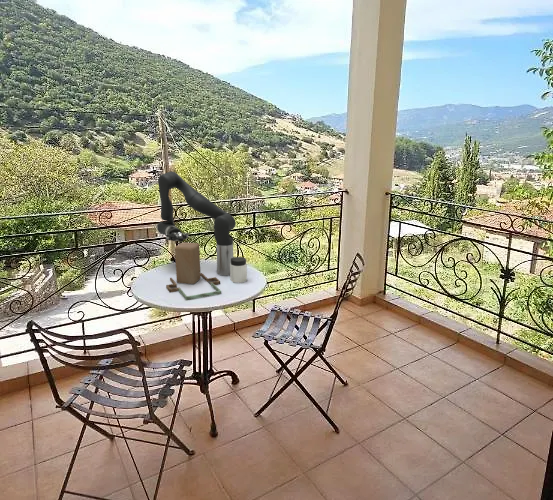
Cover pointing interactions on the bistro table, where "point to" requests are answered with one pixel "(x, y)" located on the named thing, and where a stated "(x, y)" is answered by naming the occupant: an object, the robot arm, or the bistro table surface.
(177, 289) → the notched outline frame
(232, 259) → the jar
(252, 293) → the bistro table surface
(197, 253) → the block
